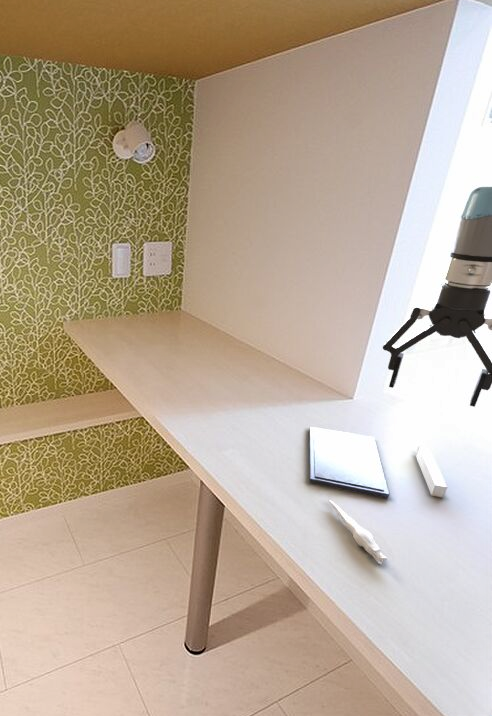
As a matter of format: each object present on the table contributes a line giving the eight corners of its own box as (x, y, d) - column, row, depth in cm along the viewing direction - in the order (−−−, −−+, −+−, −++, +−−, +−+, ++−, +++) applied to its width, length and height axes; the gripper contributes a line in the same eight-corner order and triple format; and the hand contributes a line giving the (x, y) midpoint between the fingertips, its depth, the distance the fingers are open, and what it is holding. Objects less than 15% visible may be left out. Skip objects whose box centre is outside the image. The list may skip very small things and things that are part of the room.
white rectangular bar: (424, 454, 95) (427, 445, 94) (443, 497, 82) (447, 487, 81) (414, 453, 96) (417, 443, 95) (431, 495, 83) (435, 485, 82)
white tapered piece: (390, 565, 67) (394, 556, 66) (375, 568, 66) (378, 559, 66) (334, 502, 80) (336, 494, 79) (321, 504, 80) (323, 496, 79)
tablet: (373, 440, 100) (374, 436, 100) (388, 498, 81) (389, 493, 81) (309, 430, 104) (310, 425, 104) (309, 482, 86) (310, 477, 85)
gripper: (384, 278, 80) (358, 384, 89) (563, 298, 66) (511, 420, 76) (391, 273, 85) (366, 373, 94) (558, 290, 72) (509, 404, 81)
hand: (430, 394), depth 85 cm, fingers open, 13 cm apart
